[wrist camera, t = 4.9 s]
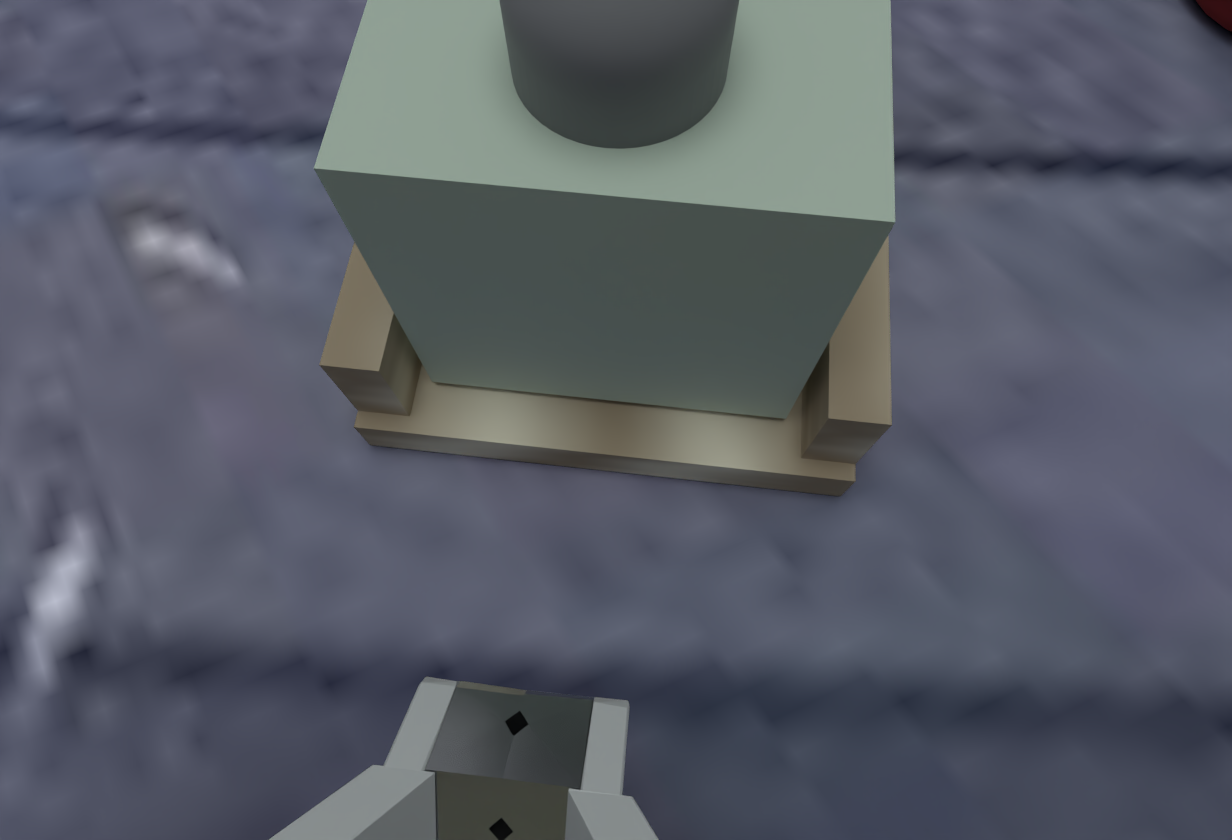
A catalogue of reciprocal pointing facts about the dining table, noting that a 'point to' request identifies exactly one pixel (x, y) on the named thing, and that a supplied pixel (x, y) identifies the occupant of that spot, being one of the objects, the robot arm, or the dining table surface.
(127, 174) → the dining table surface
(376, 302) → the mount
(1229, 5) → the smoothie
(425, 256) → the slider
